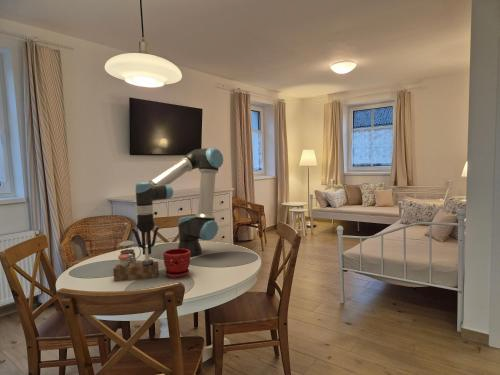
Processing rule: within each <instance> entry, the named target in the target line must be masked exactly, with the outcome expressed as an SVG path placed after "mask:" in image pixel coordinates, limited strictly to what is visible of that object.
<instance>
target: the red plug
mask: <svg viewBox="0 0 500 375" xmlns="http://www.w3.org/2000/svg"><path fill="white" fill-rule="evenodd" d="M130 255H131V254H123V255H120V254H119V255H118V260H119V261H120V260H121V267H128V262H129V261H128V258H130Z"/></svg>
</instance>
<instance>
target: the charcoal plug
mask: <svg viewBox="0 0 500 375" xmlns="http://www.w3.org/2000/svg"><path fill="white" fill-rule="evenodd" d="M153 262H154V259H152V258H151V259H150V258H149V261H147V262H145V259H144V260H142V261H141V263H142V264H143V265H145V266H147V265H151V264H153Z"/></svg>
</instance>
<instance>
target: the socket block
mask: <svg viewBox="0 0 500 375" xmlns="http://www.w3.org/2000/svg"><path fill="white" fill-rule="evenodd" d="M112 270H113V272H112V273H113V282H123V281H133V280H134V281H135V280H144V279H155V278H156V279H157V278H158V276H159V261H153V264H151V265H147V266H145V265H143V264H142V262H136V263H131V264H128V267H121V264H120V263H119V264H116V265H115V266H114V267H113V269H112Z"/></svg>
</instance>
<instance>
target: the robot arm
mask: <svg viewBox="0 0 500 375" xmlns="http://www.w3.org/2000/svg"><path fill="white" fill-rule="evenodd" d="M223 164H224V155H223V154H222V152H221V150H219V149H218V148H215V147H209V148H208V147H207V148H197V149H194V150H191V151H190V152H188V153H187V154H185V155H184V156H183V157H181V158H180V159H179V161H178V162H176V163H175V164H173V165H172V166H170V167H169V168H168V169H165V170H164V171H163V172H161V173H160V174H158V175H156V176H154V178H152V179H151V180H149V181H145V182H142V181H141V182H137V183H136V184H135V200H136V201H135V202H136V214H137V215H136V220H137V221H136V222H137V223H136V226H135V227H133V228H132V229H131V231H132V233H133V234H134V237H135V240H136V242H137V246H138V247H139V248H140V249H141V248H142V255H145V256H144V260H145V262H147V261H149V259H150V255H151V254H152V247H155V244H156V239H157V235H158V231H159V230H160V226H157V225H155V221H154V214H153V213H154V209H153V208H154V207H153V206H154V205H153V204H154V203H153V201H160V200H168V199H171V198H172V197H173V195H174V190H173V187H172V185H170V184H172V183H173V182H174V181H176V180H177V179H179V178H181V177H182V176H183V175H184V174H186V173H187V172H191V171H193V170H195V169H198V171H199V172H200V179H199V193H198V206H197V207H198V208H197V214H196V215H190V216H189V215H188V216H182V217H180V218H178V223H177V227H178V240H179V242H178V246H177V249H188V250H190V254H191V256H190V257H195V256H200V255H201V254H202V253H203V252H202V251H203V250H202V246H201V243H200V241H199V240H202V241H211V240H214V238H215V237H216V236H217V234H218V231H219V225H218V223H217V222H216V221H215V218H216V217H215V215H213V213H214V212H213V211H214V210H213V209H214V198H215V186H216V185H215V183H216V174H218V172H219V169H220V167H221V166H222V165H223ZM221 168H222V167H221ZM152 230H154V232H153V236H152V240H151V231H152ZM138 231H140V233H141V238H140V234H139V232H138ZM146 235H147V246H146ZM138 247H137V248H138ZM181 254H182V253H181Z"/></svg>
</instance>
